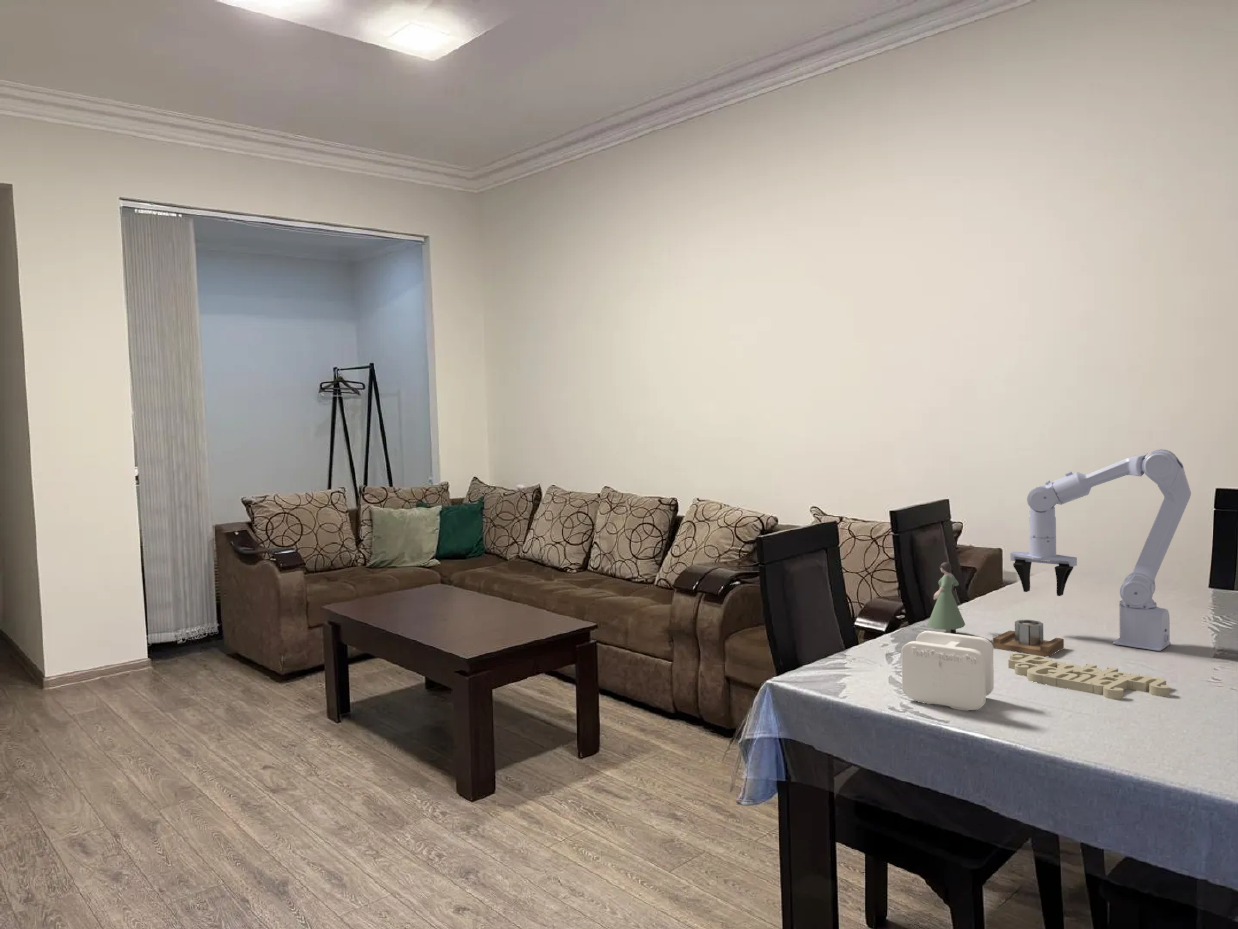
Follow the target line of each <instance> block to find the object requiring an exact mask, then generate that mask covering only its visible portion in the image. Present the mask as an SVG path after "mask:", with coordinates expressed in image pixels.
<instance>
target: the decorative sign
mask: <svg viewBox="0 0 1238 929" xmlns="http://www.w3.org/2000/svg"><path fill="white" fill-rule="evenodd" d="M1007 661H1008V662H1007V665H1008V669H1012V670H1014V674H1015V675H1019V676H1023V675H1025V676H1026V680H1027V679H1028V680H1027V681H1028V682H1030V681H1033V682H1032V683H1034V682H1037V683H1036V684H1040V683H1043V684H1042V685H1045V684H1047V685H1046V686H1051V687H1057V688H1061V687H1063V688H1062V689H1067V688H1068V689H1069V690H1074V691H1078V692H1083V693H1089V694H1095V695H1102V696H1103V697H1104V698H1106V699H1111V700H1124V691H1126V690H1127V689H1128V690H1133V691H1137V692H1138V691H1139V692H1144V693H1146V692H1147V690H1149V694H1150V695H1152V696H1156V697H1164V698H1165V697H1170V695H1171V687H1170V685H1167V679H1166V678H1161V677H1153V676H1150V675H1140V674H1136V673H1135V674H1134V673H1128V672H1121V671H1119V668H1117V667H1116V668H1114V667H1109V666H1107V667H1106V669H1105V670H1103V669H1101V668H1098V666H1097V664H1090V663H1085V666H1081V665H1078V664H1073V663H1066V662H1063V661H1057V660H1053V658H1050V657H1044V656H1038V655H1032V654H1027V653H1021V652H1013V653H1012V652H1011V653H1010V654H1009V659H1008V660H1007Z"/></svg>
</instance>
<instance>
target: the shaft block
mask: <svg viewBox="0 0 1238 929" xmlns="http://www.w3.org/2000/svg"><path fill="white" fill-rule="evenodd" d="M1023 624H1026V625H1033V624H1032V623H1023ZM1064 642H1065V639H1064V638H1061V637H1055V638H1053V639H1051V640H1046V639H1043V644H1041V645H1036V646H1030V645H1029V646H1028V645H1022V644H1018V643H1017V642H1015V630H1008V631H1006V632H1005V631H1004V632H1003V633H1001V634H999V635H997V636H995V637H993V638H992V645H993V649H997V650H1004V651H1009V650H1011V651H1010V652H1015V651H1017V652H1016V653H1021V652H1023V654H1027V653H1028V654H1030V655H1032V654H1033V655H1036V656H1042V657H1044V656H1049V657H1051V656H1053V655H1054V653H1055V652H1056V653H1058V652H1059V651H1058V650H1060V651H1062V650H1063V648H1064V649H1065V647H1064V646H1065V643H1064ZM1061 649H1062V650H1061ZM1057 651H1058V652H1057ZM1056 653H1055V654H1056ZM1052 654H1053V655H1052Z"/></svg>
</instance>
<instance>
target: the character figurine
mask: <svg viewBox="0 0 1238 929" xmlns="http://www.w3.org/2000/svg"><path fill="white" fill-rule="evenodd" d="M938 568H939V570H940V571H941V573H943V574H944V575H943V576H942V577H940V579H939V580H938V581H937V582H938V585H939V589H938V590H936V592H935V593H934V594H933V600H934V601H935V600H936V601H935V604H934V607H933V609H932V612H931V614H930V617H929V619H928V622H927V626H928V627H929V628H932V629H935V630H945V631H944V632H943V633H951V634H957V630H958V629H962V628H964V627H965V626H966V623H965V621H964V617H963V615H962V614H961V611H960V609H959V607H958V604H957V601H956V599H955V597H954V594H953V593H952V590H953V592H955V590H956V592H957V593H958V594H963V593H964V590H963V587H962V586H961V585H959V581H958V580H957V579H956V576H954V574H953V573H951V571H952V565H951V563H950V562H948V561H945V562H942V563H941V565H939V567H938ZM953 585H954V586H953Z"/></svg>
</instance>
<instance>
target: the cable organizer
mask: <svg viewBox="0 0 1238 929" xmlns="http://www.w3.org/2000/svg"><path fill="white" fill-rule="evenodd" d="M900 651H901V652H900V653H901V691H902V692H903V694H904V695H905V697H907V698H908V699H911V700H914V702H916V701H919V702H924V703H923V704H925V703H927V704H926V705H930V704H932V705H933V704H936V705H940V706H947V707H949V708H950V709H954V710H958V711H963V712H964V711H965V712H969V711H970V710H971V711H975V710H979V709H981V708H982V707H983V706H984V705H985V704H986V702H987V700H986V698H987V696H989V695H991V693H992V692H993V691H994V688H995V686H994V684H995V680H994V678H995V676H994V675H995V674H994V672H995V671H994V648H993V643H992V642H991V641H990V640H989V639H987V638H984V637H981V636H973V635H965V634H957V633H956V634H951V633H944V632H942V631H934V630H925V631H922V632H920V633H919V634H918V635H917V636H916V639H915V640H912V641H908V642H907V643H905V644H904V645H903V646H902V647H901V650H900ZM919 702H918V703H919Z"/></svg>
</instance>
